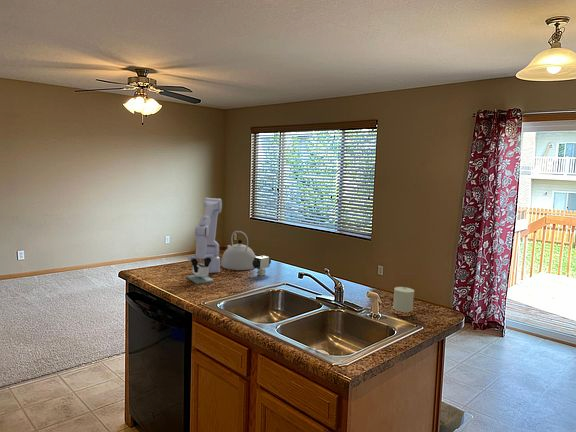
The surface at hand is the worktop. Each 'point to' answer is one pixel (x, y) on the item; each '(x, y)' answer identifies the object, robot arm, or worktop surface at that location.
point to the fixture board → (200, 279)
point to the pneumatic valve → (261, 264)
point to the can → (403, 299)
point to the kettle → (238, 256)
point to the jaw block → (201, 270)
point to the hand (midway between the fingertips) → (200, 271)
